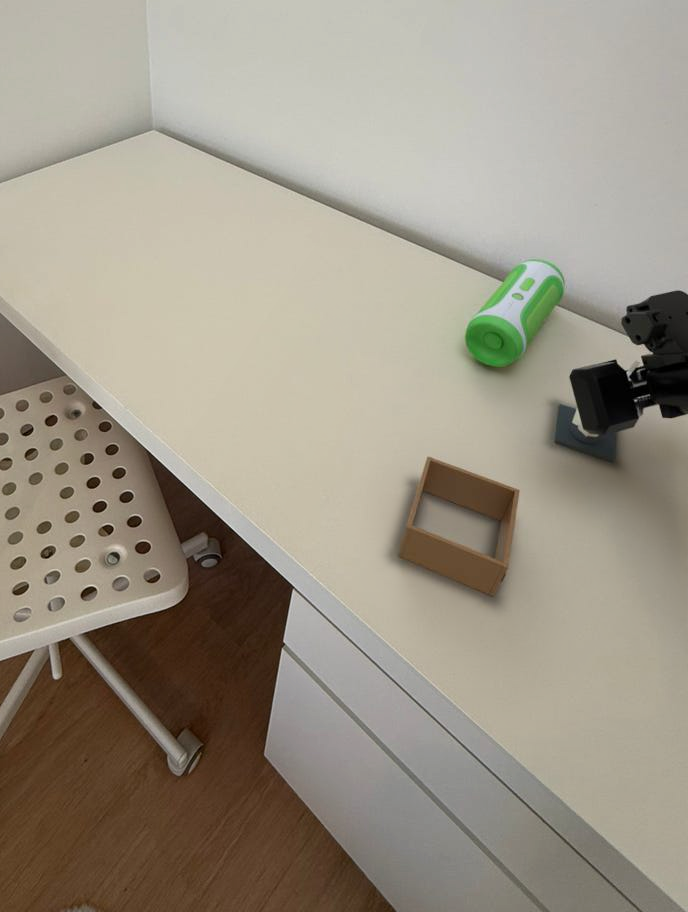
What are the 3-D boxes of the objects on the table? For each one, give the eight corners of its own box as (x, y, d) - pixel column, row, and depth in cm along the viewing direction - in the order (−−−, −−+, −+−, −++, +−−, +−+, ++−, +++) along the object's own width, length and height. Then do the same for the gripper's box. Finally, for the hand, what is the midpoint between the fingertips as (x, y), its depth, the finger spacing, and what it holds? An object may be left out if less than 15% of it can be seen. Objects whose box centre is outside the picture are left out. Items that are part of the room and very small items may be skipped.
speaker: (510, 381, 83) (528, 336, 78) (454, 354, 86) (468, 310, 82) (558, 311, 93) (576, 267, 89) (506, 289, 97) (521, 247, 92)
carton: (506, 519, 67) (520, 490, 64) (494, 597, 61) (509, 568, 58) (418, 485, 71) (427, 455, 68) (397, 555, 64) (406, 526, 61)
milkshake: (622, 439, 75) (657, 375, 69) (585, 454, 73) (618, 390, 67) (589, 411, 78) (620, 347, 72) (554, 424, 77) (583, 360, 71)
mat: (614, 423, 77) (616, 421, 77) (613, 462, 73) (615, 460, 73) (558, 405, 79) (559, 403, 79) (554, 442, 75) (555, 440, 75)
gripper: (790, 273, 61) (647, 295, 76) (622, 311, 57) (506, 325, 72) (828, 395, 60) (674, 392, 75) (658, 442, 55) (532, 429, 70)
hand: (598, 382), depth 73 cm, fingers closed on milkshake, 5 cm apart
